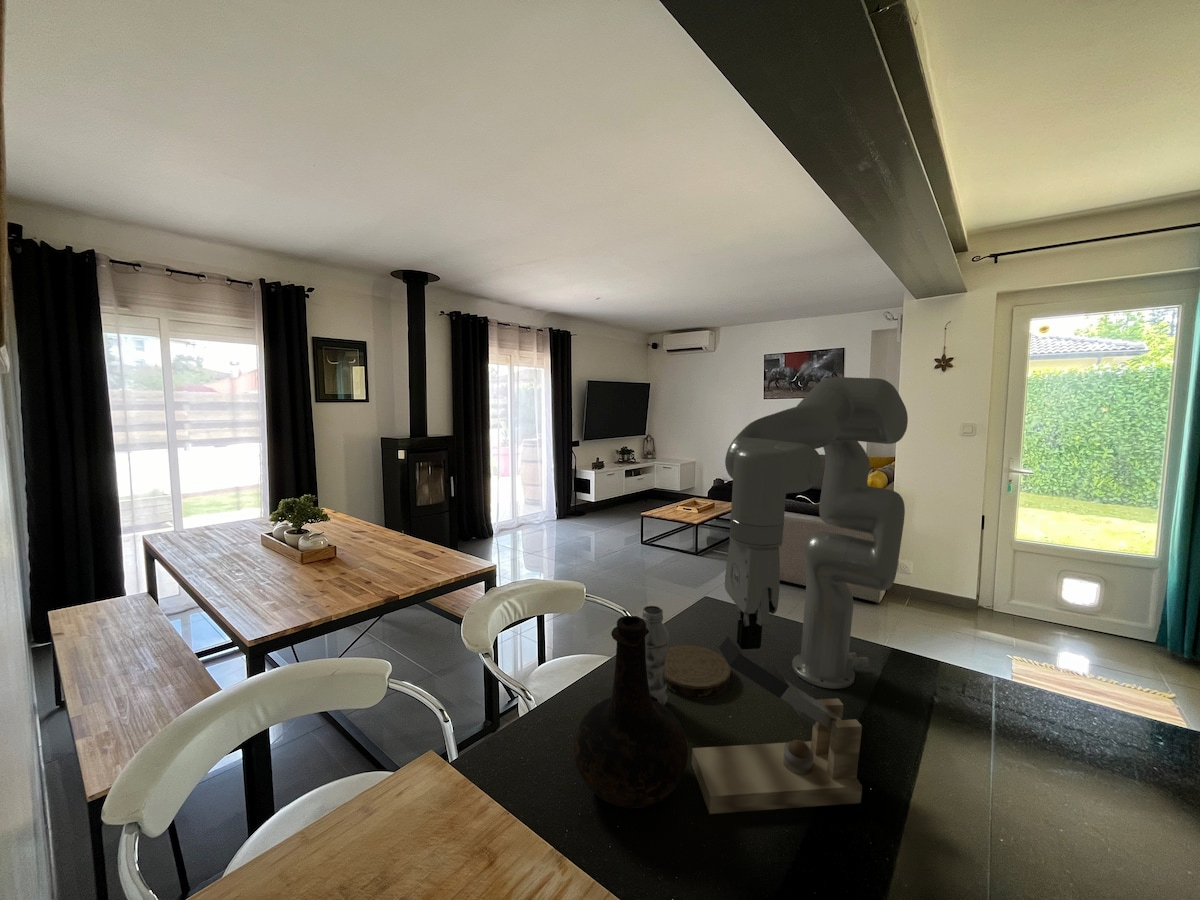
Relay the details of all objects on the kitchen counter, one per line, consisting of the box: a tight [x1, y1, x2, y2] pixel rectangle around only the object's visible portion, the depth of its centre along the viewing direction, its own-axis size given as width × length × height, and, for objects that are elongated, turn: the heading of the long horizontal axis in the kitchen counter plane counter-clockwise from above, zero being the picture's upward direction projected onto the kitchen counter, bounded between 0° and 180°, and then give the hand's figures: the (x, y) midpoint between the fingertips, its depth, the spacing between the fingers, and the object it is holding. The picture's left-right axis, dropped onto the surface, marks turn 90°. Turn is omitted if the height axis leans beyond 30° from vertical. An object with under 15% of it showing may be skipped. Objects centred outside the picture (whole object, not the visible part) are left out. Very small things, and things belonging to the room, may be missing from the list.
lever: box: [718, 635, 841, 730], centre depth 83 cm, size 23×5×3 cm
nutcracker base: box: [691, 698, 863, 815], centre depth 85 cm, size 24×10×12 cm, turn 96°
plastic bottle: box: [642, 605, 670, 706], centre depth 103 cm, size 6×7×20 cm
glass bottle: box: [573, 615, 689, 809], centre depth 83 cm, size 18×18×28 cm
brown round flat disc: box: [665, 644, 731, 700], centre depth 114 cm, size 16×16×3 cm
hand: (748, 646), depth 81 cm, fingers closed
